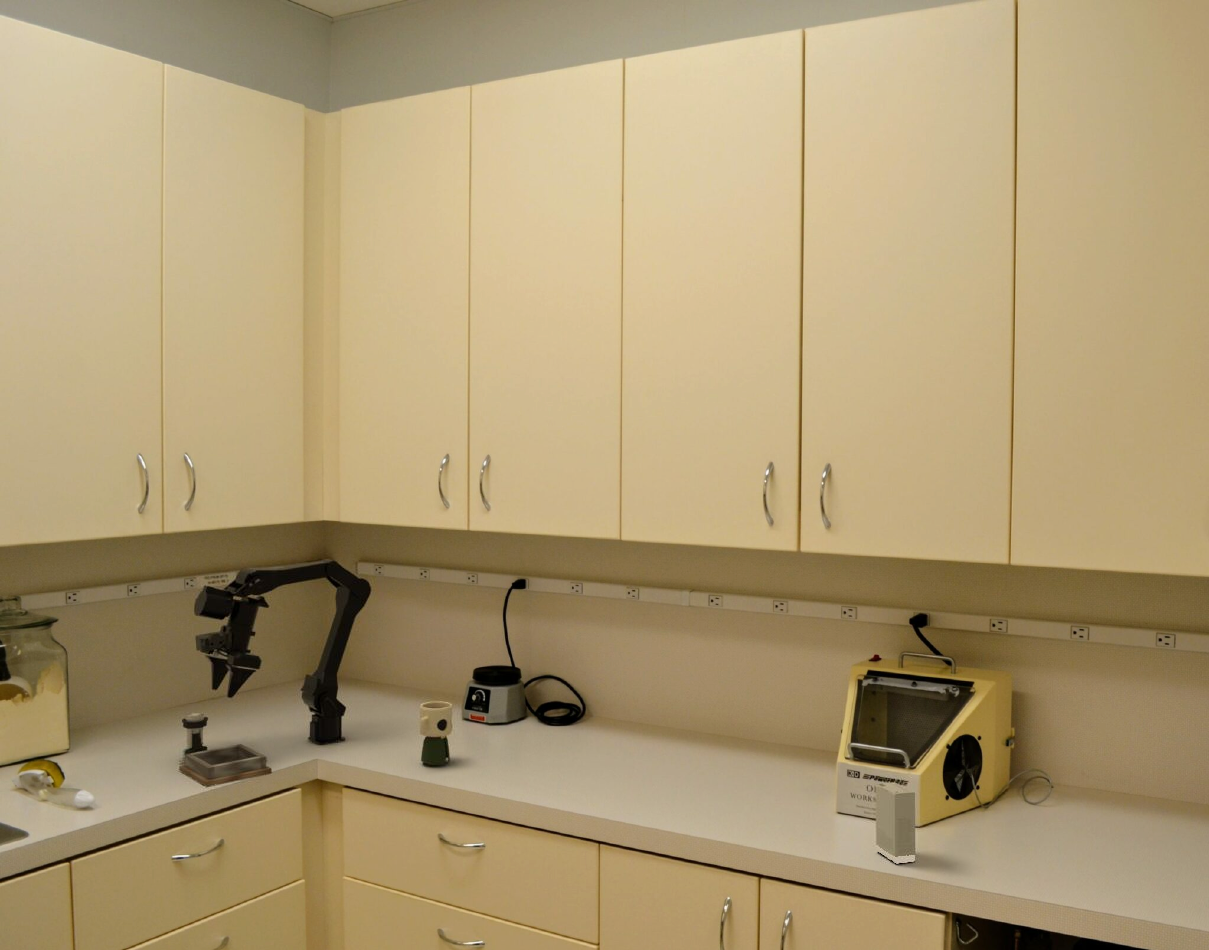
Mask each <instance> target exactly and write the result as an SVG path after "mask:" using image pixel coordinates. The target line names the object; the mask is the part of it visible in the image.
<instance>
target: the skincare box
mask: <svg viewBox="0 0 1209 950" xmlns="http://www.w3.org/2000/svg"><path fill="white" fill-rule="evenodd" d="M874 792H875V846H876V845H878V846H879V847H880V848H882V849H883V850H884V851H886V852H888V853H889V854H891V855H893V856H895V857H898V856H906V855H907V856H909V855H915V856H916V792H915V791H913V790H911V789H909V788H907V787H904V786H902V785H901V784H899V783H897V782H895V781H893V782H885V783H884V782H883V783H878V784H875V791H874Z"/></svg>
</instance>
